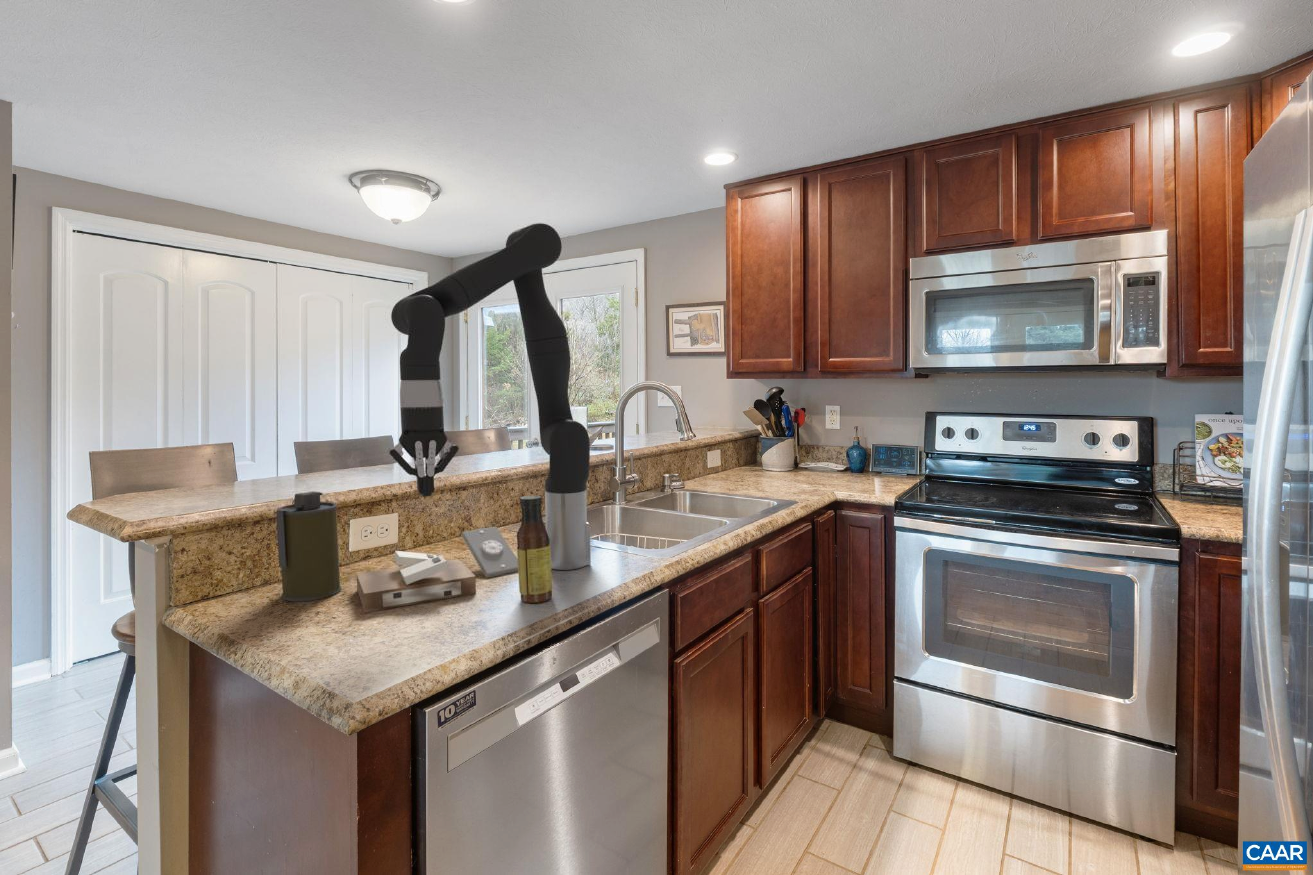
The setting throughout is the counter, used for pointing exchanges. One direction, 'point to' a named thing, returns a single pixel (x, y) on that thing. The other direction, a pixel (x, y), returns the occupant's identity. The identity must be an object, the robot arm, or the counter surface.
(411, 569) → the rocker
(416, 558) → the rocker
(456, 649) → the counter surface
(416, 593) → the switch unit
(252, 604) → the counter surface
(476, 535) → the light switch
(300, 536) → the canister
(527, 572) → the sauce bottle
